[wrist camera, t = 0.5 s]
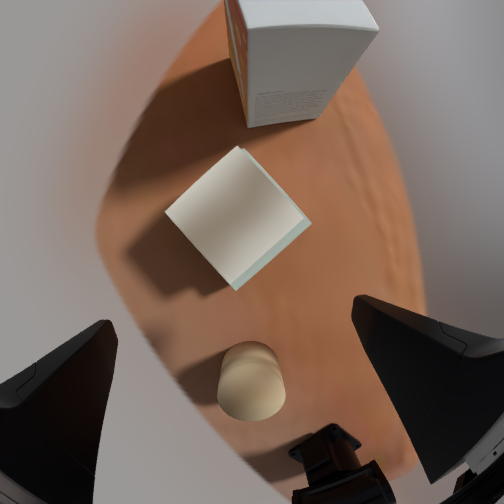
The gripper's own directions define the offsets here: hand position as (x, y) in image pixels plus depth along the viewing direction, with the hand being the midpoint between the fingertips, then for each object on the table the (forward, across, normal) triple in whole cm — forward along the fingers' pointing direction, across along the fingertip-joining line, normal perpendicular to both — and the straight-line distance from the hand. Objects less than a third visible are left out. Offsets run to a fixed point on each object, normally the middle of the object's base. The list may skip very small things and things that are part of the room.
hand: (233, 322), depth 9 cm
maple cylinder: (+10, -1, +12) cm, 16 cm away
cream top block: (+10, -1, -1) cm, 10 cm away
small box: (+16, -5, -12) cm, 20 cm away
